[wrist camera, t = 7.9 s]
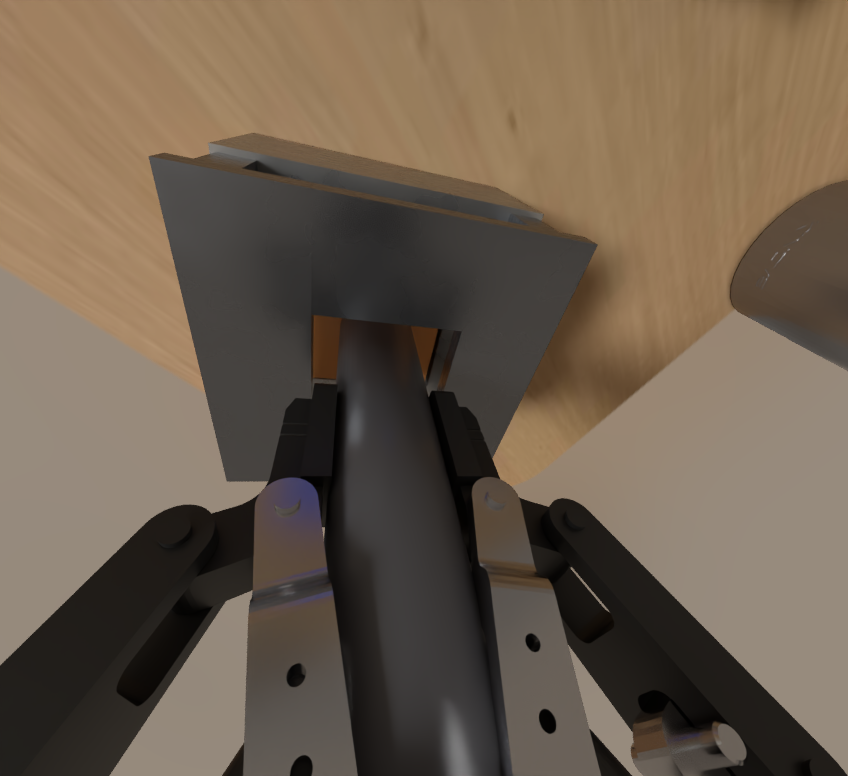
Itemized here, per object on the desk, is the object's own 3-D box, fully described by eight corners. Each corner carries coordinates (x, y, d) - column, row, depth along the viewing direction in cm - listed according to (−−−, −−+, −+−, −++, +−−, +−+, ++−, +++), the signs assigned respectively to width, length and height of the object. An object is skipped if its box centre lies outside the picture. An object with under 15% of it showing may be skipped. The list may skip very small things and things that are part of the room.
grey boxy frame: (496, 187, 18) (597, 244, 11) (444, 368, 25) (481, 480, 18) (252, 132, 15) (148, 156, 8) (271, 354, 22) (227, 481, 15)
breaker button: (431, 247, 18) (449, 282, 15) (412, 337, 22) (423, 385, 18) (322, 229, 17) (312, 262, 13) (320, 328, 20) (312, 377, 16)
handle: (416, 303, 15) (616, 948, 3) (404, 362, 17) (506, 905, 5) (342, 293, 14) (281, 1087, 3) (338, 357, 16) (292, 978, 5)
